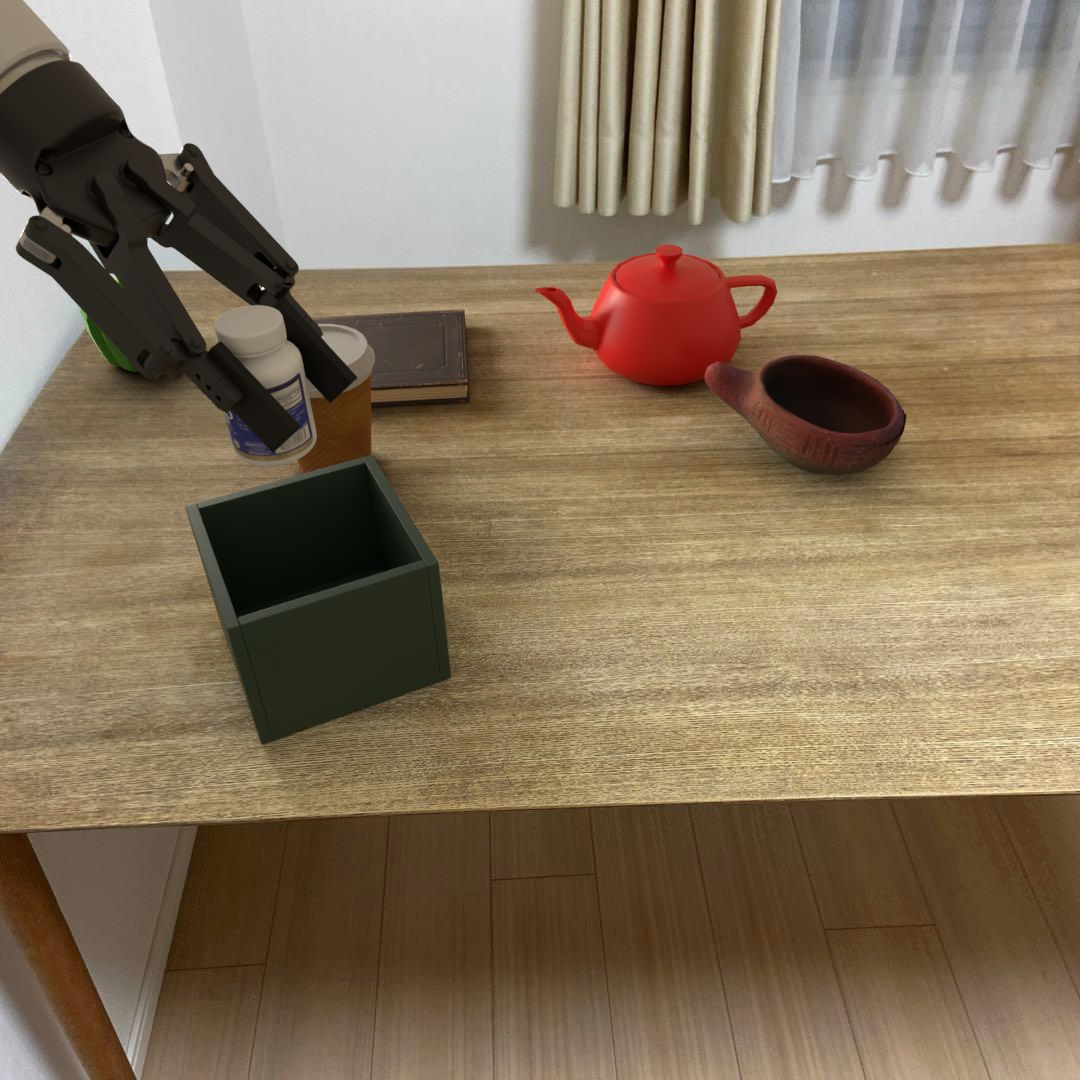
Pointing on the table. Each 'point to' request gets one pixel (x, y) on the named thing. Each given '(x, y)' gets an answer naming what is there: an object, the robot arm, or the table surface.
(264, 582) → the waste bin
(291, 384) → the pill bottle
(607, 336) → the teapot
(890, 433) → the bowl
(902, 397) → the table surface
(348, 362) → the disposable coffee cup
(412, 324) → the hardcover book
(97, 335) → the bell pepper
